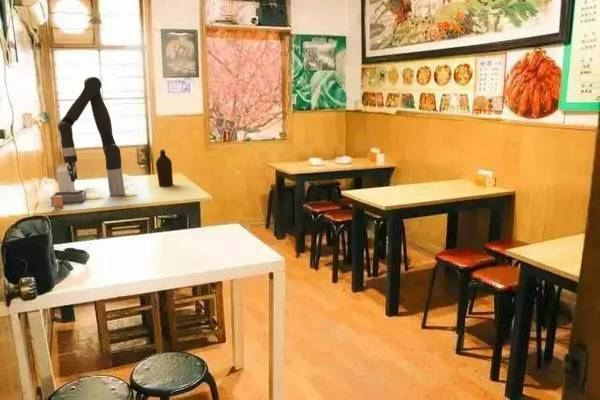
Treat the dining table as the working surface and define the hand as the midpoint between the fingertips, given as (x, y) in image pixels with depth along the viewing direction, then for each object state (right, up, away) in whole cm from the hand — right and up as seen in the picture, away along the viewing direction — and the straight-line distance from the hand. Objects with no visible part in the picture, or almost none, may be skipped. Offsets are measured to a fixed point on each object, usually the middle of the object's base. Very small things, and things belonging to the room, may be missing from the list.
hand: (74, 180), depth 307 cm
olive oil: (+47, -2, +38) cm, 60 cm away
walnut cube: (0, -12, +3) cm, 12 cm away
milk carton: (-18, -7, +28) cm, 34 cm away
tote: (-4, -13, +2) cm, 14 cm away
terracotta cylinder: (-3, -17, -14) cm, 22 cm away
